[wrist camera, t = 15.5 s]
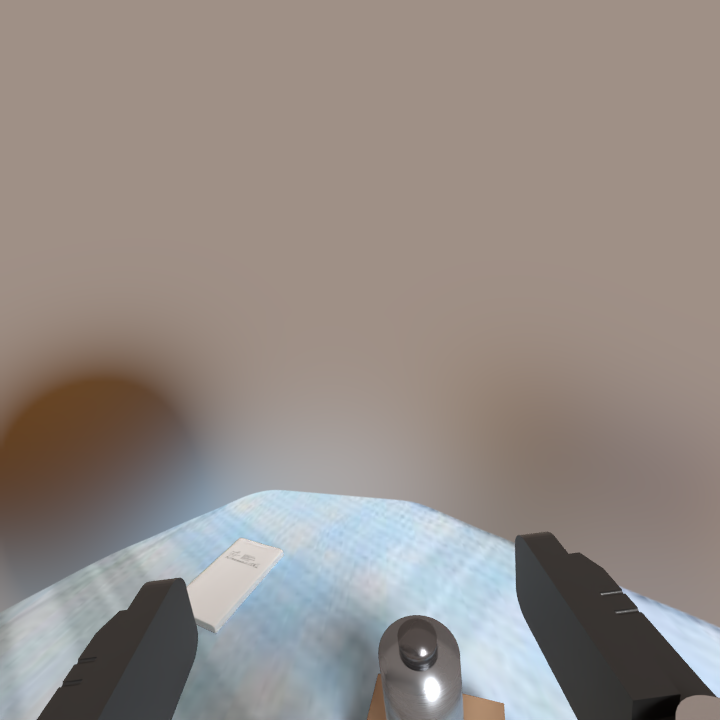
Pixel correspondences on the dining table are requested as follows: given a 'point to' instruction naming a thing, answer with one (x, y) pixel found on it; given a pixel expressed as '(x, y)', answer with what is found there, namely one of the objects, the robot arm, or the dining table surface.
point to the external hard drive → (230, 582)
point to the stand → (479, 713)
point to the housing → (420, 671)
